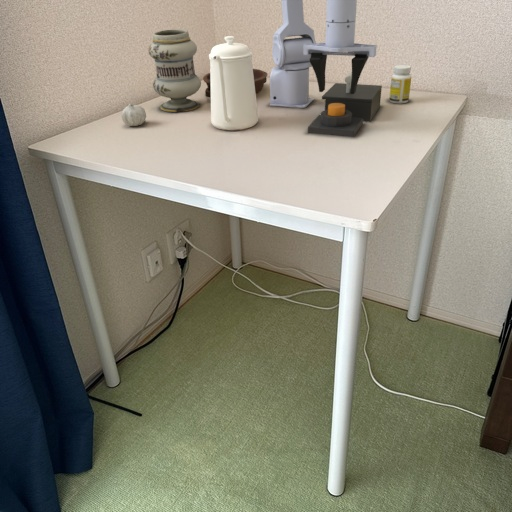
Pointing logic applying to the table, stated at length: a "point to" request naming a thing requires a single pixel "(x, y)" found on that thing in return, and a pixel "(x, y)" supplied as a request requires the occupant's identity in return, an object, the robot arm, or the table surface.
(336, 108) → the button
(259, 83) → the dish
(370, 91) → the lid
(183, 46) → the apothecary jar
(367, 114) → the dark grey lipped box
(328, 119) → the orange push button box
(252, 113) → the coffeepot
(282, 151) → the table surface
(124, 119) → the garlic
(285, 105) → the robot arm
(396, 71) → the supplement bottle
